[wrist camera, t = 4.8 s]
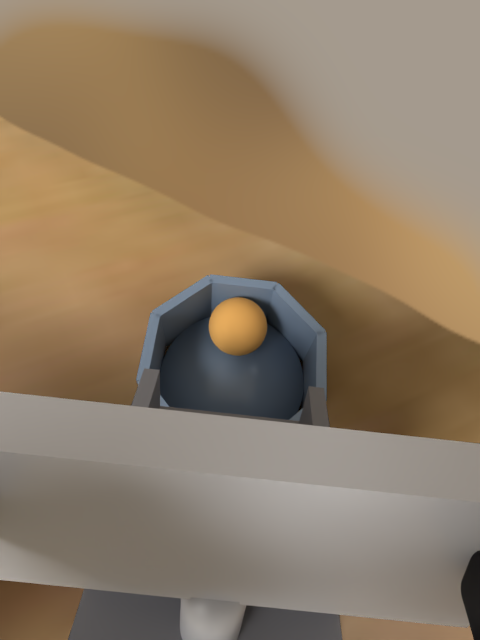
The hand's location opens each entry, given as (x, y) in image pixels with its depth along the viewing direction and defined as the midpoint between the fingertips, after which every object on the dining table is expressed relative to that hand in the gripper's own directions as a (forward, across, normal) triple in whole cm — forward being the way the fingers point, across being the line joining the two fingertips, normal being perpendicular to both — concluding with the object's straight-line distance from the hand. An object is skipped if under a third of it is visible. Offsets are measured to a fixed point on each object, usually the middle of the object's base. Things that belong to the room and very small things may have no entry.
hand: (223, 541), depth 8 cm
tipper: (+5, 0, +5) cm, 8 cm away
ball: (+16, 0, +2) cm, 16 cm away
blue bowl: (+16, 0, +5) cm, 17 cm away
